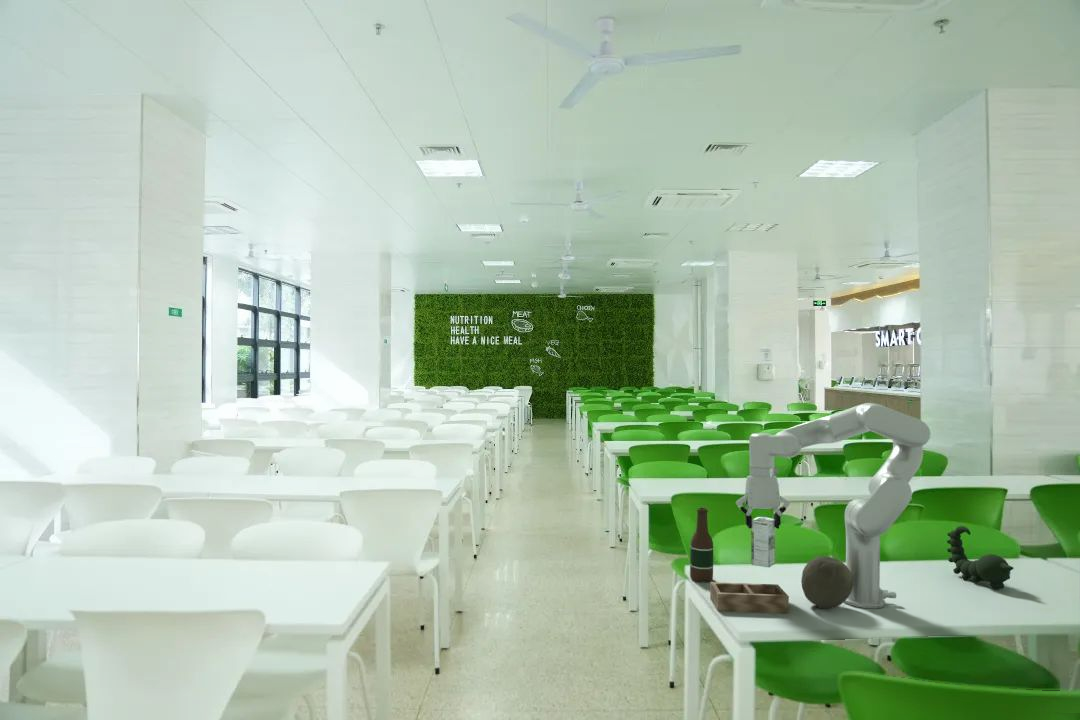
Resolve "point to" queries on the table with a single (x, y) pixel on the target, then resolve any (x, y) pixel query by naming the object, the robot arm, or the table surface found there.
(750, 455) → the robot arm
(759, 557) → the syrup box
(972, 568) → the toy figurine
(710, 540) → the beer bottle
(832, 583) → the cantaloupe
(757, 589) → the slot rack
